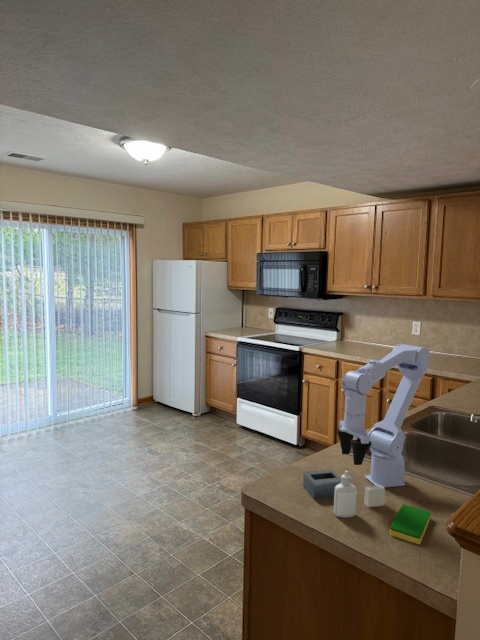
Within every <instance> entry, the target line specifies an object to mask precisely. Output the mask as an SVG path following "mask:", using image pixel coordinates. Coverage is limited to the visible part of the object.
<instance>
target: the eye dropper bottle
mask: <svg viewBox="0 0 480 640" xmlns="http://www.w3.org/2000/svg"><path fill="white" fill-rule="evenodd" d="M340 478H341V483H340V484H338V485H336V486H335V492H334V497H333V514H334V515H335V516H336V517H337V518H352V517H355V516H356V514H357V513H356V512H357V496H358V495H357V492H358V491H357V489H358V488H357V487H356V486H355V485H354V484H352V476H351V475H349V471H348V470H345V471H344V474H342V475H341V477H340Z"/></svg>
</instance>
